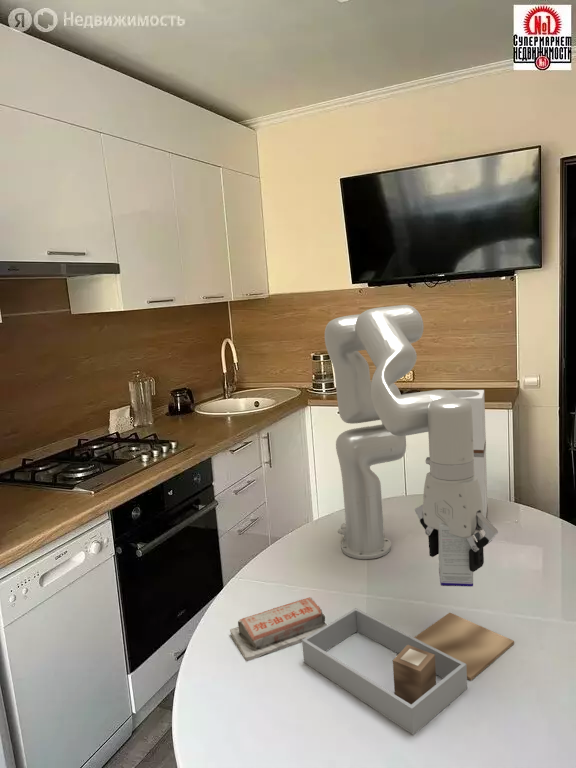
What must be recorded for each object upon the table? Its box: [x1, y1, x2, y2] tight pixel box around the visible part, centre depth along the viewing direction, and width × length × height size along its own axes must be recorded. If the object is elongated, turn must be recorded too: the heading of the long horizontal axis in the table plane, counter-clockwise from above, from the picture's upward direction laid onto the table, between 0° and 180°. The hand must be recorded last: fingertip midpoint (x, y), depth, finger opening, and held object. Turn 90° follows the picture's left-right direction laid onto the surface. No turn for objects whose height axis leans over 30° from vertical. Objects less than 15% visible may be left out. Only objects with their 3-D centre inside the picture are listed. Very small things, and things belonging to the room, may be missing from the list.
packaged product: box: [229, 597, 328, 662], centre depth 119 cm, size 18×5×10 cm
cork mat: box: [413, 612, 515, 682], centre depth 110 cm, size 14×14×1 cm
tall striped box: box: [447, 389, 489, 520], centre depth 163 cm, size 11×11×35 cm
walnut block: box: [392, 645, 437, 704], centre depth 98 cm, size 5×5×7 cm
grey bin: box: [301, 607, 468, 735], centre depth 104 cm, size 25×14×4 cm, turn 40°
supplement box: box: [438, 523, 474, 588], centre depth 107 cm, size 6×6×12 cm
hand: (455, 560), depth 107 cm, fingers closed on supplement box, 7 cm apart
